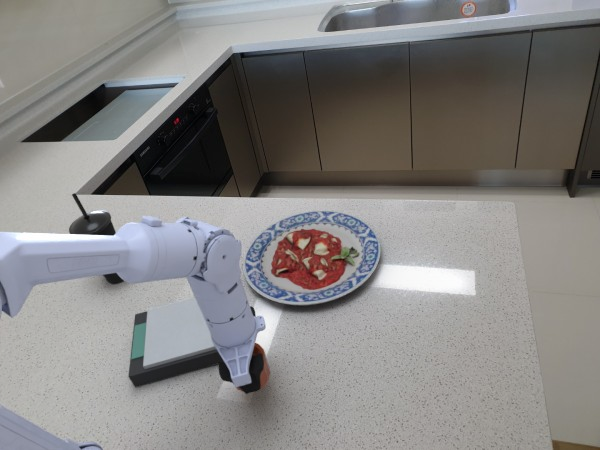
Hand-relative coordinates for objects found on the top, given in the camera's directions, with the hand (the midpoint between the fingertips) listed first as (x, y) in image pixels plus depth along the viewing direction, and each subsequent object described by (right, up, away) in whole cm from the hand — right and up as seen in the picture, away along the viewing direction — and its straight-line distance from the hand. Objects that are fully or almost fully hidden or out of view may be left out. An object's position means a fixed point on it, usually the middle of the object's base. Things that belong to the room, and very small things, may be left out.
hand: (250, 371), depth 64 cm
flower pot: (0, -1, +1) cm, 1 cm away
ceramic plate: (+9, +14, +23) cm, 28 cm away
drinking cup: (-30, +10, +29) cm, 43 cm away
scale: (-12, +1, +12) cm, 17 cm away
